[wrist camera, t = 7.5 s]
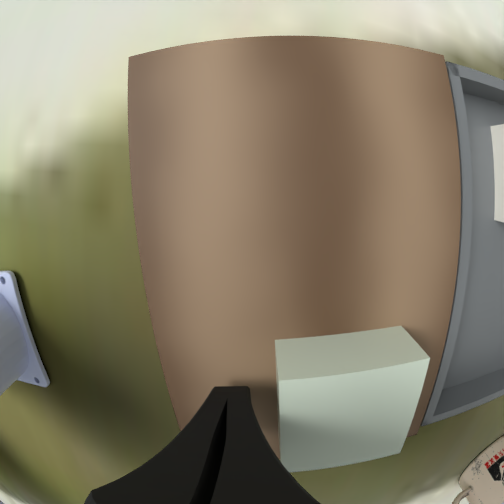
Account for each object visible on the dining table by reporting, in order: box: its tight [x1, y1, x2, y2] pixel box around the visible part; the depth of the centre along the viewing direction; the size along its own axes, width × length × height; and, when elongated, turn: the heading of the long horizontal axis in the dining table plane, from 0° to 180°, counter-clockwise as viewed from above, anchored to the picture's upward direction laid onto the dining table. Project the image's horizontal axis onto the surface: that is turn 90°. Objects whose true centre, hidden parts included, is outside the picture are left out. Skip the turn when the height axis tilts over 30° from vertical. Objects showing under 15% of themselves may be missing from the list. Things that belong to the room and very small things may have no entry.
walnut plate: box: [128, 36, 461, 459], centre depth 12 cm, size 12×18×3 cm, turn 4°
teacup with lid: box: [452, 436, 504, 504], centre depth 12 cm, size 12×9×12 cm
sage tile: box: [275, 326, 430, 472], centre depth 10 cm, size 5×5×2 cm
